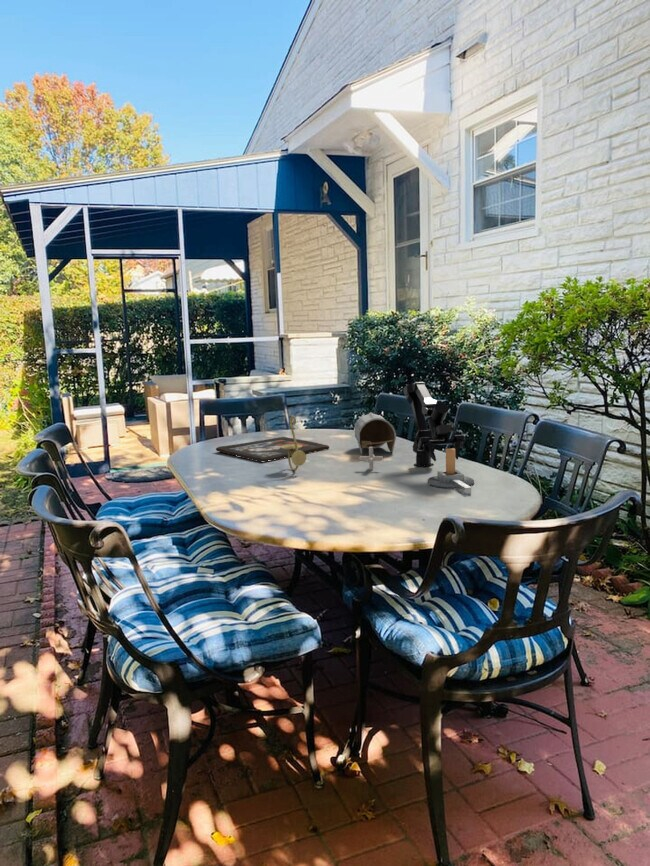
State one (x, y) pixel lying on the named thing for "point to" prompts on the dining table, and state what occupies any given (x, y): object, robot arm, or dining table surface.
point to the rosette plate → (452, 481)
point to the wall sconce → (297, 456)
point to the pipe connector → (371, 458)
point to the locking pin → (450, 461)
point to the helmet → (374, 432)
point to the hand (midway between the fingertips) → (446, 459)
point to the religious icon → (269, 448)
